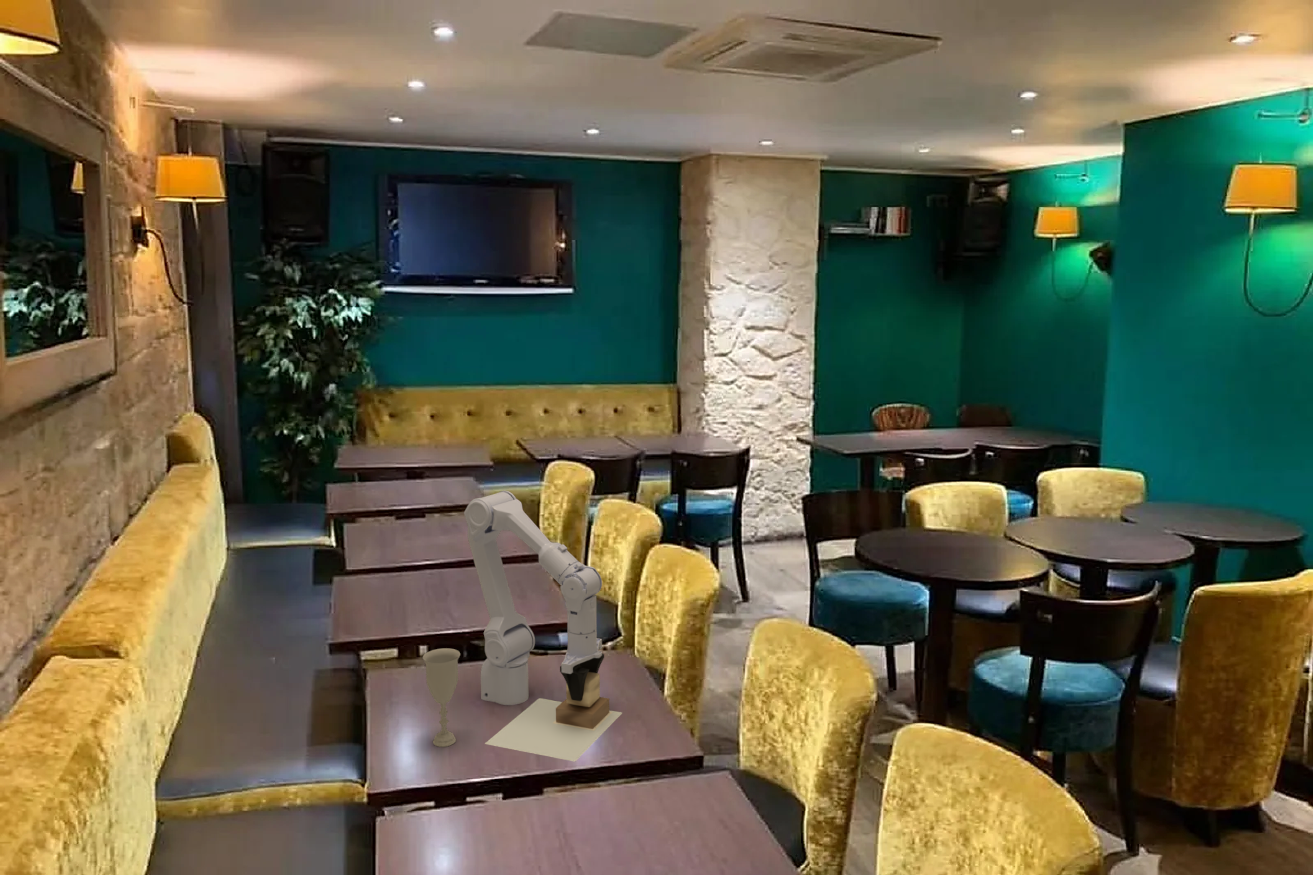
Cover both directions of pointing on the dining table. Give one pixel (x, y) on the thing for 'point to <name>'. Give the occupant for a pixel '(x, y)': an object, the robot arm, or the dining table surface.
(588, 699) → the light wooden cube
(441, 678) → the chalice
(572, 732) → the plain cream board
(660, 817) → the dining table surface
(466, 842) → the dining table surface
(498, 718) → the dining table surface
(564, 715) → the walnut slab
